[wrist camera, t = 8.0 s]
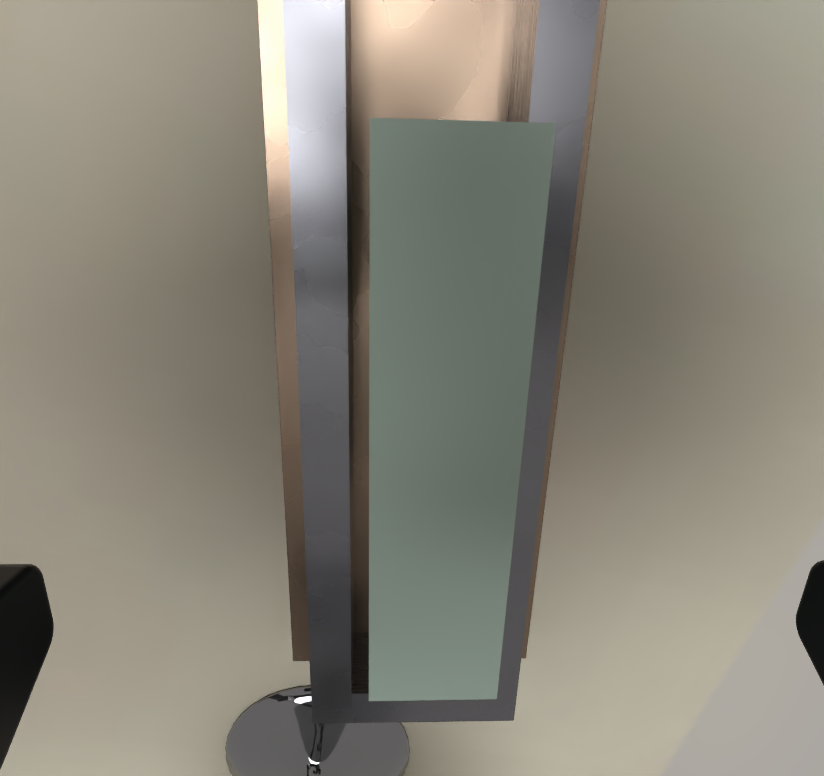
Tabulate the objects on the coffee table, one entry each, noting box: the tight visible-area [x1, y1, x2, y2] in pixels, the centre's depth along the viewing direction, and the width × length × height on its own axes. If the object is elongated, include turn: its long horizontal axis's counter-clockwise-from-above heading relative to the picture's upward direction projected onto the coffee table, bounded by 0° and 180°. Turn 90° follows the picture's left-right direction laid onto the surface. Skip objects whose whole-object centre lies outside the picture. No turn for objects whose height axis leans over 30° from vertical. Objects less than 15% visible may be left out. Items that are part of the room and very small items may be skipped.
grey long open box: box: [258, 0, 607, 724], centre depth 17 cm, size 8×24×4 cm, turn 178°
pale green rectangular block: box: [369, 118, 556, 701], centre depth 14 cm, size 2×10×8 cm, turn 178°
